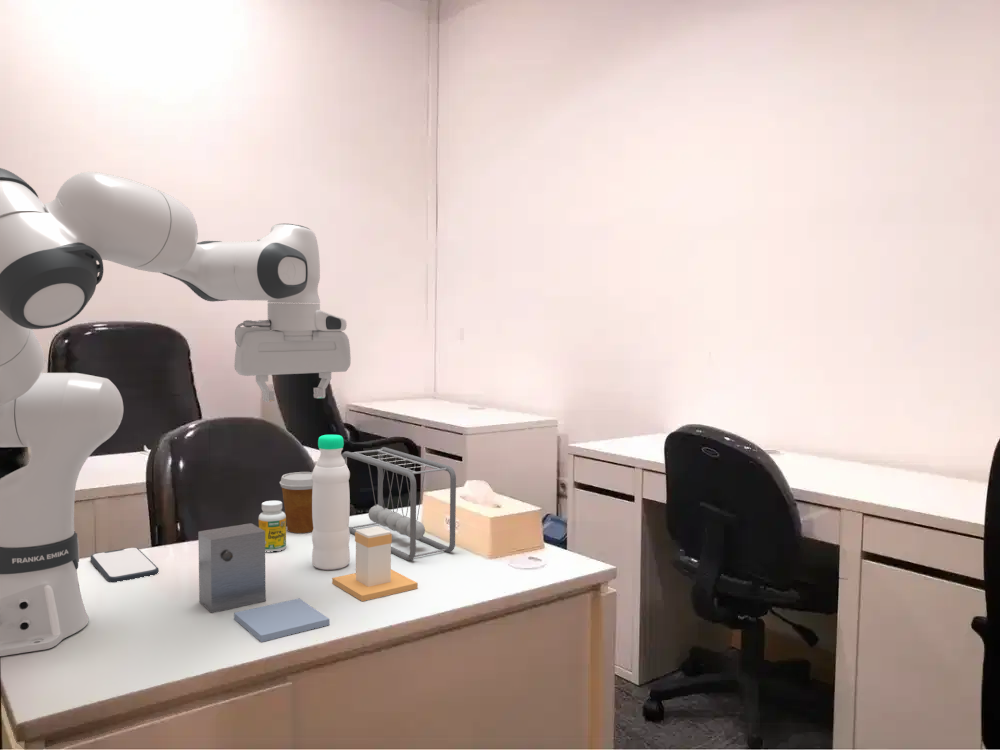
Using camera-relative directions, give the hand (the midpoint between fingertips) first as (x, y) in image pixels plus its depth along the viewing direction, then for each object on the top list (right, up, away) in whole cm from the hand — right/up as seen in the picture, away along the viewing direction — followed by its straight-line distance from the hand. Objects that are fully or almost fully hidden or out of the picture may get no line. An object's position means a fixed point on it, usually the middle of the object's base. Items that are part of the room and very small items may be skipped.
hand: (294, 399), depth 143 cm
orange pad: (+14, -33, +3) cm, 36 cm away
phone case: (-35, -32, +11) cm, 49 cm away
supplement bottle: (-10, -31, +23) cm, 40 cm away
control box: (-9, -34, -6) cm, 35 cm away
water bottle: (+4, -32, +14) cm, 35 cm away
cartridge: (+13, -32, +2) cm, 35 cm away
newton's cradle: (+14, -31, +31) cm, 46 cm away
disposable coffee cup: (-8, -30, +38) cm, 49 cm away
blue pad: (+2, -35, -14) cm, 37 cm away
